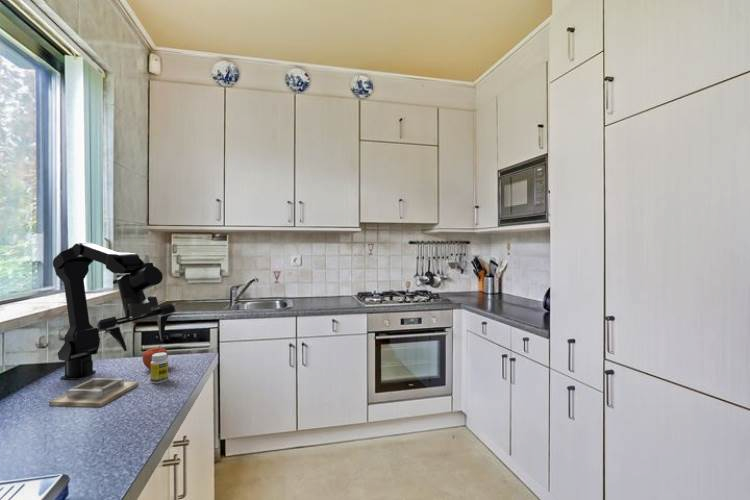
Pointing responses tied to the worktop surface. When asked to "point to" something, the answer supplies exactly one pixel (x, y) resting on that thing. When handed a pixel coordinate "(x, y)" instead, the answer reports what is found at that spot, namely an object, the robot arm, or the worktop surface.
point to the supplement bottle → (159, 368)
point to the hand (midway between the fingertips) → (144, 345)
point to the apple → (148, 355)
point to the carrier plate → (94, 392)
